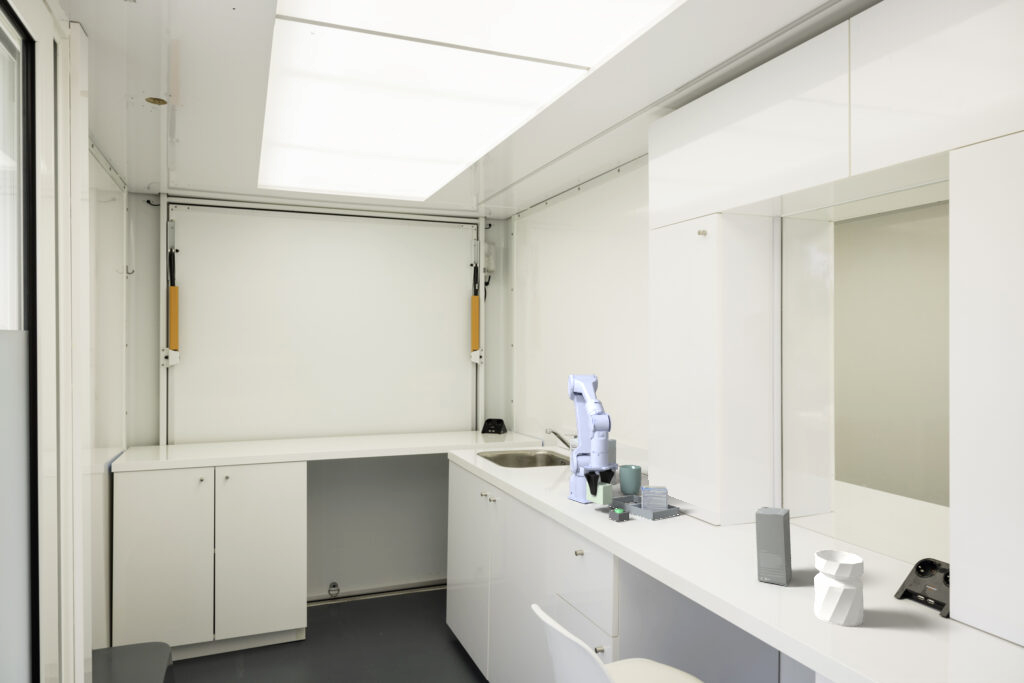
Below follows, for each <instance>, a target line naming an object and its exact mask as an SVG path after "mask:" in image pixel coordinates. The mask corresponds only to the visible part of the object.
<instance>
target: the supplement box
mask: <svg viewBox="0 0 1024 683" xmlns="http://www.w3.org/2000/svg"><path fill="white" fill-rule="evenodd" d="M577 447H578V437H575V438H570V439H569V479H570V478H571V476H572V474H574V473H573V472H572V470H571V454H572V452H573V451H574V450H575V449H576V448H577ZM608 463H617V440H616V439H615V438H614V439H613V438H608ZM612 471H614V472H615V475H614V476H613V478H612V480H611V482H610V484H611V485H612V486H613V485H616V484H617V470H612ZM598 475H600V474H599V473H598ZM598 481H600V482H601V479H600V476H599V479H598Z"/></svg>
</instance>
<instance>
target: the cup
mask: <svg viewBox="0 0 1024 683" xmlns="http://www.w3.org/2000/svg"><path fill="white" fill-rule="evenodd" d="M618 470H619V471H618V472H619V477H618V478H619V479H618V480H619V488H620V492H621V493H622V494H623V495H624V496H629V495H638V494H639V492H640V491H641V487H642V466H640V465H634V464H622V465H620V466H619V468H618Z"/></svg>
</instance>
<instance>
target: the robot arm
mask: <svg viewBox="0 0 1024 683" xmlns="http://www.w3.org/2000/svg"><path fill="white" fill-rule="evenodd" d="M598 385H599V380H598V376H597V375H596V374H595V373H594V374H572V373H571V374H569V376H568V379H567V393H568V396H569V397H568V398H569V399H570V401H573V404H574V412H575V421H576V422H575V423H576V433H577V434H576V435H577V437H576V438H578V447H577V448H576V449H575V450H574V451H573V452H572V454H571V470H572V472H573V473H574V474H572V476H571V478H570V477H569V496H567V499H569V500H572V501H575V502H578V503H581V504H591V503H592V502H591V501H588V500H586V482H588V485H589V489H590V493H591V495H596V494H597V484H598V479H599V476H600V479H601V482H604V483H608V484H610V482H611V480H612V478H613V476H614V475H615V472H614V471H612V470H616V471H617V470H619V463H617V462H616V463H608V439H610V437H609V435H610V434H609V433H610V432H611V430H612V417H611V415H610V414H609V413H607V412H605V411H606V410H605V408H604V406H603V403H602V402H601V400H600V399H597V397H598V396H597V391H598V387H599V386H598ZM598 473H599V474H600V475H598Z"/></svg>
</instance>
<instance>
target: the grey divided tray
mask: <svg viewBox="0 0 1024 683" xmlns="http://www.w3.org/2000/svg"><path fill="white" fill-rule="evenodd" d="M630 502H633V503H630ZM634 502H637V503H634ZM625 503H627V504H625ZM609 506H611V507H610V508H612V507H614V508H613V509H615V508H617V509H623V510H625V511H628V512H629V514H631V513H632V514H631V515H634V514H635V515H634V516H637V515H638V516H637V517H640V516H641V518H643V517H644V519H646V518H647V519H646V520H649V519H651V520H650V521H656V520H655V519H658V520H661V519H660V518H663V519H666V518H665V517H669V516H673V515H677V514H679V515H680V507H679V506H675V505H672V504H669V503H668V509H666V510H661V511H655V512H651V511H648V510H645V509H641V495H638V494H636V495H623V496H616V497H612V504H608V505H607V507H609ZM669 518H670V517H669Z"/></svg>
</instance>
